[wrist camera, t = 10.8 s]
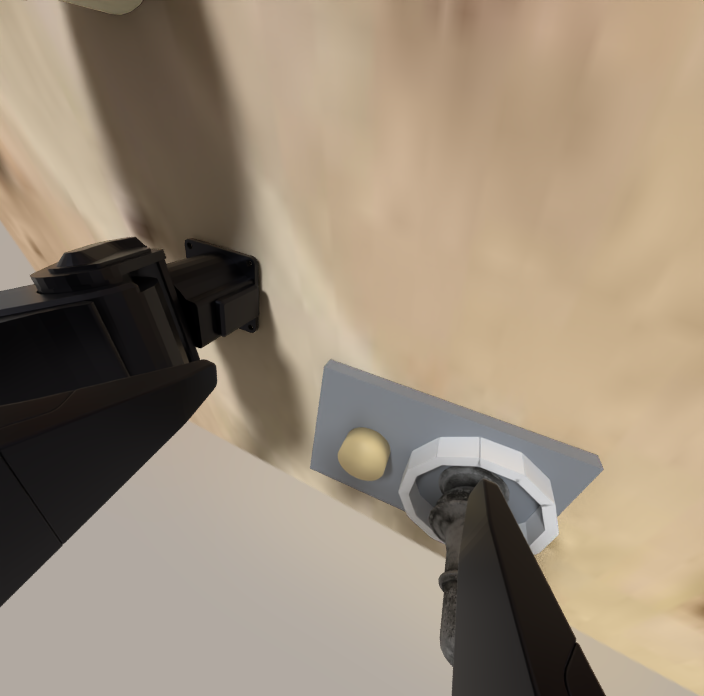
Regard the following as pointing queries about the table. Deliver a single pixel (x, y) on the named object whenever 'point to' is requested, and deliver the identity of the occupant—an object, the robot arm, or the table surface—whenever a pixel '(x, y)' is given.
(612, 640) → the table surface
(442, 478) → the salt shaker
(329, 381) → the socket board
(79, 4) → the reusable coffee cup
